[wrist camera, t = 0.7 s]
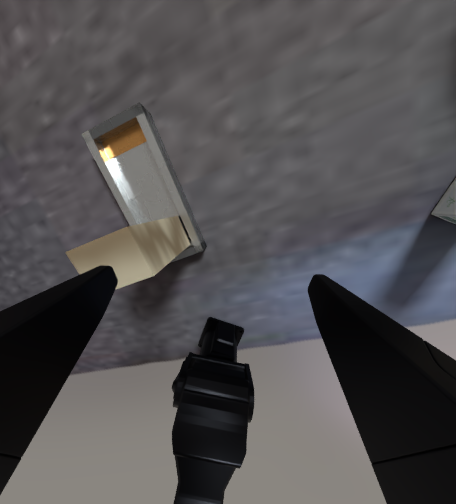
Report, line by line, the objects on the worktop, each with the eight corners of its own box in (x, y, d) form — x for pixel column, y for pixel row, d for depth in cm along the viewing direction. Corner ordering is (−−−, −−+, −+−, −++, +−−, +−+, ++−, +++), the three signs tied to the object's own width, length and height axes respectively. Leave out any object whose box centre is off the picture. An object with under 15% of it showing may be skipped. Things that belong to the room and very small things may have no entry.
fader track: (206, 246, 25) (203, 250, 23) (160, 263, 26) (152, 268, 24) (150, 113, 21) (139, 102, 18) (97, 141, 22) (81, 134, 20)
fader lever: (192, 242, 23) (154, 276, 13) (158, 255, 24) (94, 296, 14) (180, 214, 22) (127, 226, 12) (145, 229, 23) (65, 252, 13)
